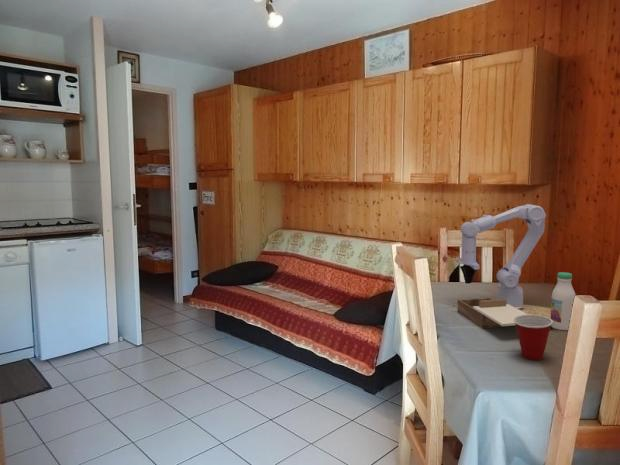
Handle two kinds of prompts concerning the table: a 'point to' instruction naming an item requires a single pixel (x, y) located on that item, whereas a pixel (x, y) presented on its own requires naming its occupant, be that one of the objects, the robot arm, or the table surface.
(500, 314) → the lid
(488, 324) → the storage box
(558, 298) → the milk bottle
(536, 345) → the plastic cup
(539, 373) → the table surface
